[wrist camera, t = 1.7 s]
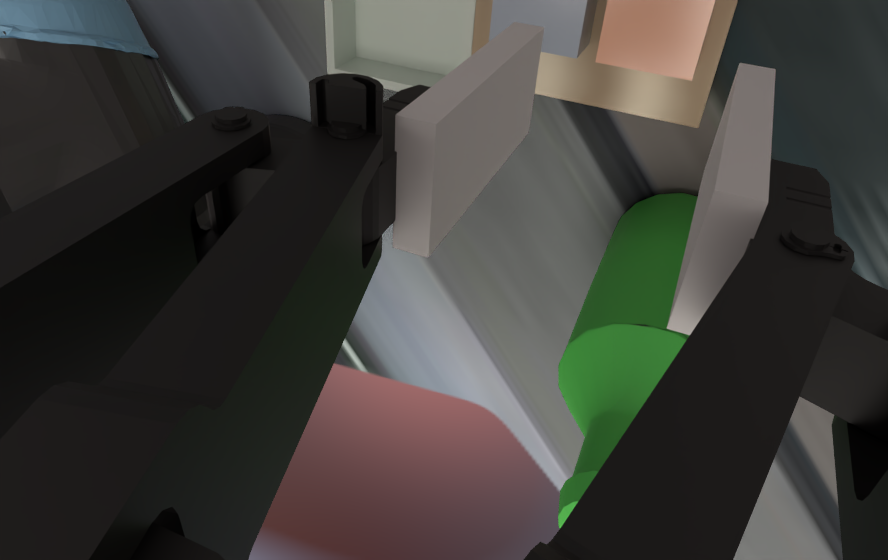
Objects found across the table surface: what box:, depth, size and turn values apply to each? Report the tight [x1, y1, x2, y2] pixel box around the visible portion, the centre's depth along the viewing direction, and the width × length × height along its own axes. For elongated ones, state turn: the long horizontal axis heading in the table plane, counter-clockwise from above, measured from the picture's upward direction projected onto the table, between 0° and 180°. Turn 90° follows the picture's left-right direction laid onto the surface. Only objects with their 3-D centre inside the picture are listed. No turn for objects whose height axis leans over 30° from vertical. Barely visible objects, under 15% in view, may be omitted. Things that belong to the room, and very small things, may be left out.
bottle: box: [558, 193, 698, 528], centre depth 37 cm, size 9×9×25 cm
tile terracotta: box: [595, 0, 717, 81], centre depth 34 cm, size 5×5×3 cm
